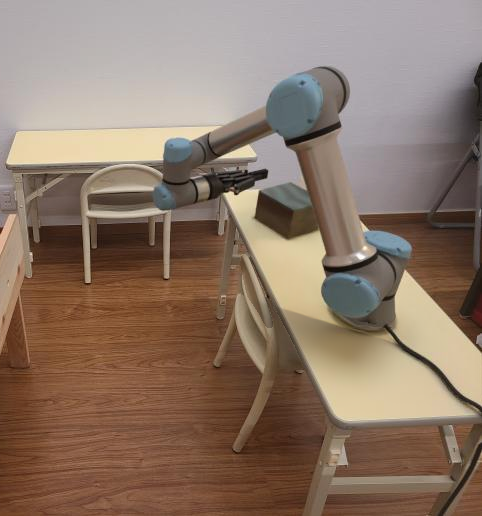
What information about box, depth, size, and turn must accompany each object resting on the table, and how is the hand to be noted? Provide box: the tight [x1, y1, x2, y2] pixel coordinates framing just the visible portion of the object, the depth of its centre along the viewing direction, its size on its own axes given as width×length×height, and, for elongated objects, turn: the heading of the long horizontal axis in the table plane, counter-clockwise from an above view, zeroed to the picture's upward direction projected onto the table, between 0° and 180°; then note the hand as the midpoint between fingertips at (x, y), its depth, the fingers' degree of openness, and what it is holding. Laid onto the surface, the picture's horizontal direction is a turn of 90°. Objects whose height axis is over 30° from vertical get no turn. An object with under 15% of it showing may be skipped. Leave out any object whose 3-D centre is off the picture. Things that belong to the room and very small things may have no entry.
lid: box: [258, 182, 312, 212], centre depth 164 cm, size 14×17×1 cm
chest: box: [253, 192, 319, 240], centre depth 167 cm, size 14×17×10 cm
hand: (266, 173), depth 152 cm, fingers closed
